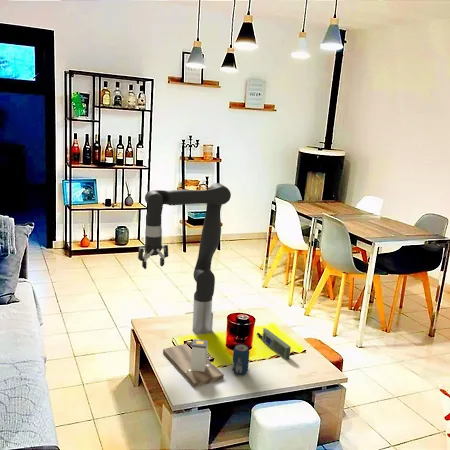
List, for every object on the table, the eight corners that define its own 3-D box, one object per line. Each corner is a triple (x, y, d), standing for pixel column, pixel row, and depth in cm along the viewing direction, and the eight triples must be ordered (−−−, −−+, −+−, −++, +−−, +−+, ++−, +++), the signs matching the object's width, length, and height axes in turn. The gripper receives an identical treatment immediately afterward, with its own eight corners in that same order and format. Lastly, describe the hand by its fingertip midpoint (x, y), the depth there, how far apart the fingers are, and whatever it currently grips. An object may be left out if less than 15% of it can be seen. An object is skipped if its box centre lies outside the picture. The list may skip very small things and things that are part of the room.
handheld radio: (284, 361, 215) (254, 336, 236) (290, 359, 217) (259, 335, 237) (286, 347, 214) (255, 324, 234) (292, 346, 215) (261, 323, 236)
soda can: (244, 366, 208) (246, 342, 205) (250, 375, 202) (252, 350, 199) (229, 368, 206) (231, 344, 203) (235, 377, 199) (236, 352, 196)
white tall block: (192, 363, 204) (194, 338, 201) (206, 365, 203) (207, 340, 200) (190, 370, 199) (191, 344, 196) (204, 371, 198) (205, 346, 195)
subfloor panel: (190, 346, 222) (190, 342, 222) (223, 378, 198) (223, 374, 198) (163, 353, 215) (163, 348, 214) (194, 387, 191) (194, 382, 190)
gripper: (142, 238, 210) (142, 272, 214) (171, 234, 217) (170, 267, 221) (136, 233, 216) (136, 266, 220) (164, 230, 223) (163, 262, 227)
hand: (153, 267), depth 221 cm, fingers open, 8 cm apart
